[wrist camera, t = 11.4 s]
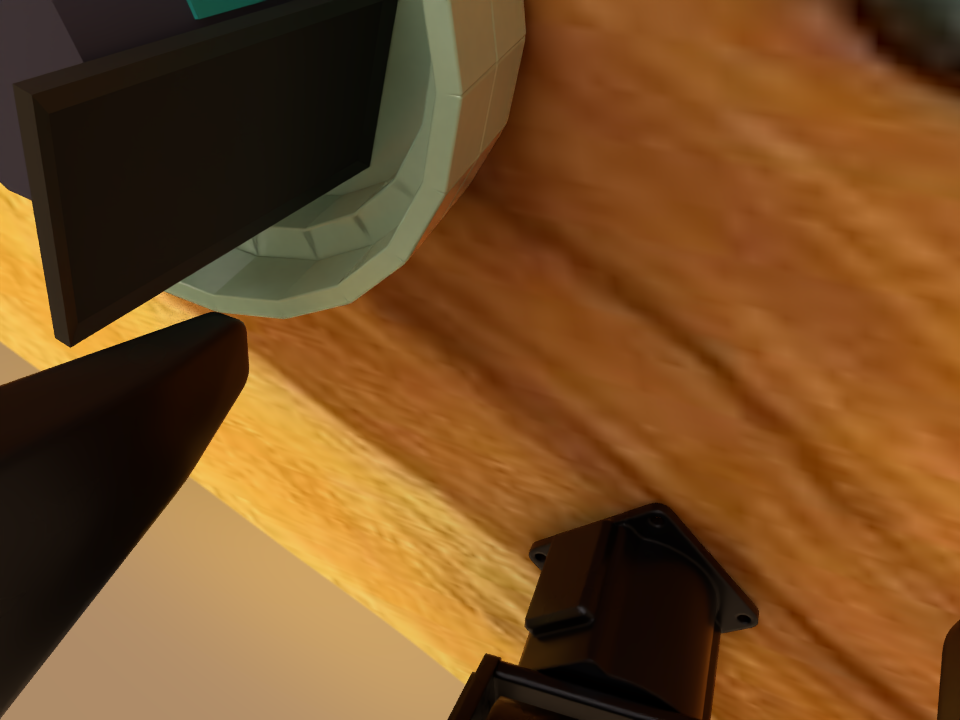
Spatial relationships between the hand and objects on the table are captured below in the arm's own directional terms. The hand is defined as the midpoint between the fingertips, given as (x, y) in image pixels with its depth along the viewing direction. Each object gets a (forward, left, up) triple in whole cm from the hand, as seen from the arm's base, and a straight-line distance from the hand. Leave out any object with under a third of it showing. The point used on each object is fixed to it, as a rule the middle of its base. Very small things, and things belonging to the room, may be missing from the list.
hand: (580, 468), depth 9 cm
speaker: (+9, +8, -13) cm, 17 cm away
